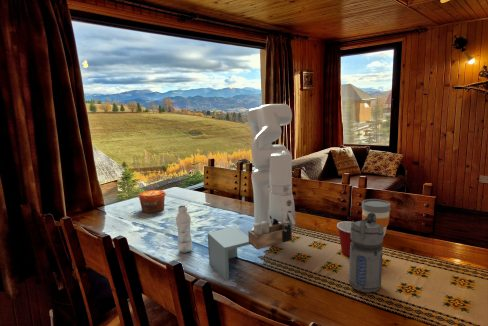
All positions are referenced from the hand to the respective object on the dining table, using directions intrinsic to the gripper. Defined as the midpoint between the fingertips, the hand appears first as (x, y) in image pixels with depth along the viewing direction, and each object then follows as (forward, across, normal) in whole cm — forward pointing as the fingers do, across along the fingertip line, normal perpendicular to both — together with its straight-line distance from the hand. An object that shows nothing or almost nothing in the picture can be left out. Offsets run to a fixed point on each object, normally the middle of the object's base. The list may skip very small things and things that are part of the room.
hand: (281, 237), depth 118 cm
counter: (+15, +16, +13) cm, 25 cm away
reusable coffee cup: (+16, +10, -59) cm, 62 cm away
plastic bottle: (+16, +39, +24) cm, 48 cm away
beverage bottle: (+15, -19, -21) cm, 33 cm away
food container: (+16, +104, +23) cm, 107 cm away
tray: (+1, 0, +4) cm, 5 cm away
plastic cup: (+16, +1, -34) cm, 38 cm away
